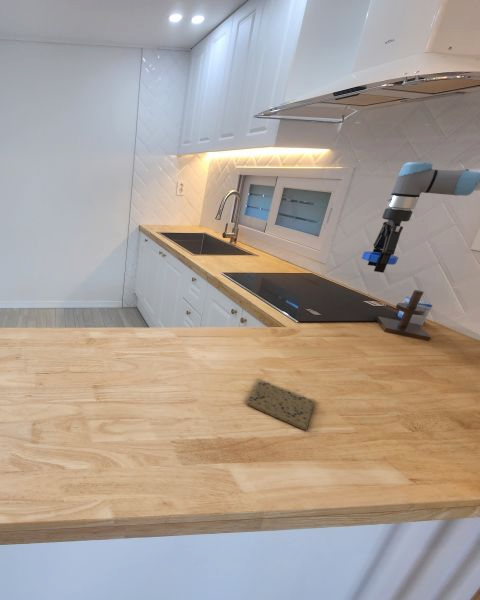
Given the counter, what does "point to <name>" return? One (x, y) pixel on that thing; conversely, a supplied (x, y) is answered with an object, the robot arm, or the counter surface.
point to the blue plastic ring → (375, 256)
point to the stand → (406, 319)
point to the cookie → (282, 404)
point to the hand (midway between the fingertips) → (375, 268)
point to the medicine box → (417, 318)
